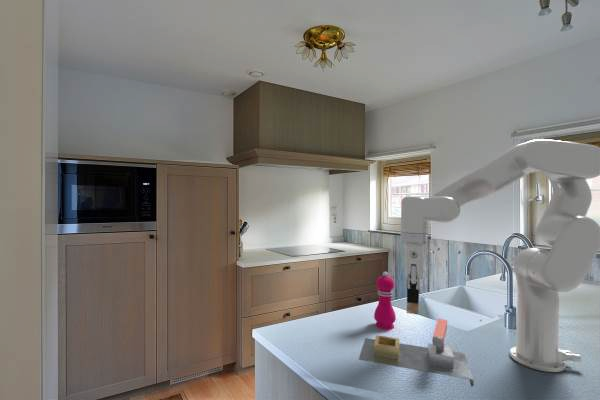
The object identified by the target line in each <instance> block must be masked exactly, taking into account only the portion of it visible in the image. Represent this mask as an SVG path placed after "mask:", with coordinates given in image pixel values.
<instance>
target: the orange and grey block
mask: <svg viewBox="0 0 600 400" xmlns="http://www.w3.org/2000/svg"><path fill="white" fill-rule="evenodd" d="M447 329H448V320H447V319H443V318H437V321H436V324H435V328H434V331H433V334H432V341H431V342H432V344H433V345H434V346H436V350H437V351H441V352H443V351H444V346H445V339H446V333H447Z"/></svg>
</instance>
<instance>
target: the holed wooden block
mask: <svg viewBox="0 0 600 400" xmlns="http://www.w3.org/2000/svg"><path fill="white" fill-rule="evenodd" d="M374 339H375V343H374V355H375V356H380V357H386V358H392V359H398V360H399V343H400V338H397V337H391V336H384V335H378V334H377V335H376V336H375V338H374Z"/></svg>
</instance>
